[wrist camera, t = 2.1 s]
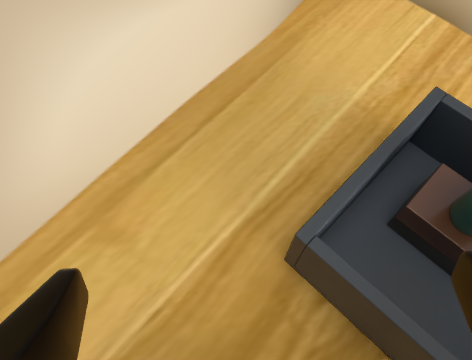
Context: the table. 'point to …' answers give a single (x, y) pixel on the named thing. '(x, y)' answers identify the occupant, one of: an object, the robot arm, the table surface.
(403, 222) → the teal handled stamp
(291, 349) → the table surface
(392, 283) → the basket
